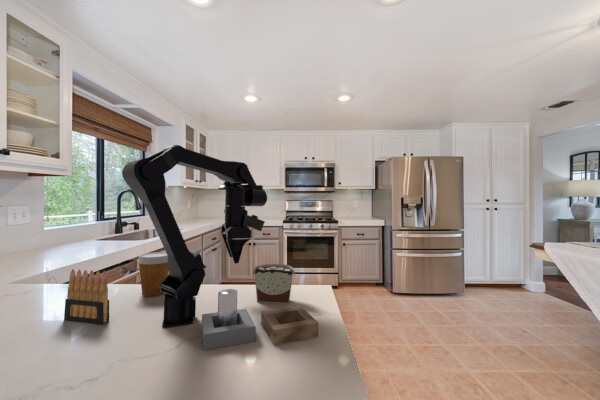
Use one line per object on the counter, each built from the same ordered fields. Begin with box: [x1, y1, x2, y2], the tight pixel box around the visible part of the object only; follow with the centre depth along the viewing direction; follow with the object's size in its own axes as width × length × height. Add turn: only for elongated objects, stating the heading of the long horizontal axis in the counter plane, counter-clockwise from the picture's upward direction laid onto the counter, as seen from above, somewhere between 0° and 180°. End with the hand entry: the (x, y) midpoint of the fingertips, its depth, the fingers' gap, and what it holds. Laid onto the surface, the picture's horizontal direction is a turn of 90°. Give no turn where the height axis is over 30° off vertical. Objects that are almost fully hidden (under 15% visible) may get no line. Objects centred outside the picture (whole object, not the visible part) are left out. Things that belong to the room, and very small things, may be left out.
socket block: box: [201, 308, 256, 351], centre depth 57 cm, size 10×10×3 cm
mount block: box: [260, 305, 320, 346], centre depth 59 cm, size 10×10×3 cm
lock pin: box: [217, 288, 238, 328], centre depth 57 cm, size 4×4×9 cm
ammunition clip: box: [63, 268, 110, 326], centre depth 62 cm, size 11×2×12 cm, turn 80°
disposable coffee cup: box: [137, 251, 169, 297], centre depth 82 cm, size 10×10×12 cm
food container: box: [252, 263, 296, 305], centre depth 79 cm, size 12×6×10 cm, turn 84°
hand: (234, 260), depth 76 cm, fingers open, 9 cm apart
